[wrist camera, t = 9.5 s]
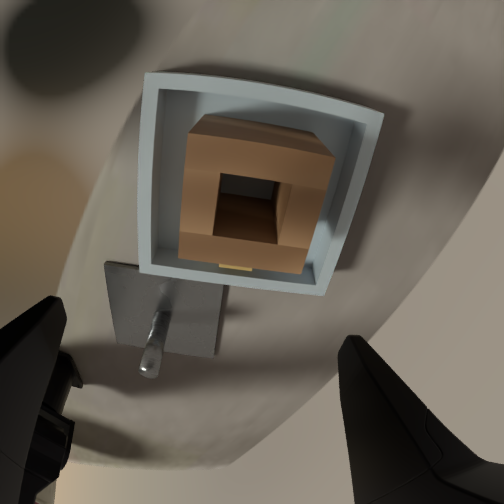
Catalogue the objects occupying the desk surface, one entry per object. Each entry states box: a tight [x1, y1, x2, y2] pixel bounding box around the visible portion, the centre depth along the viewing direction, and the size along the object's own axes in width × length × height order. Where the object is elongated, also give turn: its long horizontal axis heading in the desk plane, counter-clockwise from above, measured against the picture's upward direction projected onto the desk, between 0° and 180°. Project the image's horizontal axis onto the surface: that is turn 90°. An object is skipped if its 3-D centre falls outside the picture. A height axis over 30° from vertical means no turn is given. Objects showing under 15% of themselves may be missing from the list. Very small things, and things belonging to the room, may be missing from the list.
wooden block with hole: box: [178, 114, 336, 274], centre depth 16 cm, size 8×6×5 cm
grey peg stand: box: [104, 262, 224, 378], centre depth 22 cm, size 9×9×6 cm
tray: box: [138, 71, 384, 296], centre depth 18 cm, size 12×12×2 cm
